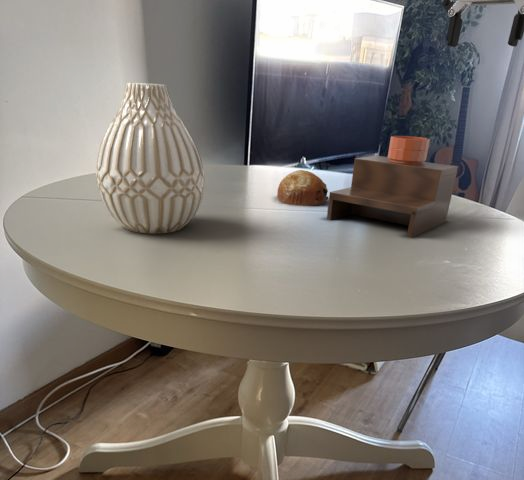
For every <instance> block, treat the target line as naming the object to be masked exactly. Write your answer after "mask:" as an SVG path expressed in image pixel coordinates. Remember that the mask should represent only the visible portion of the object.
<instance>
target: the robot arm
mask: <svg viewBox="0 0 524 480" xmlns="http://www.w3.org/2000/svg"><path fill="white" fill-rule="evenodd" d="M441 3H442V4H441V5H442V7H443V9H444V10H445V11H446V13H447V16H448V17H449V21H448V25H447V31H446V37H445V39H446V41H447V46H448V47H450V48H451V47H452V48H455V47H458V44H459V40H460V35H461V31H462V27H463V26H462V25H463V19H462V15H463V14H464V13H465V12H466V10H467V9H468V8H469V7H470V6H476V7H477V6H497V5H499V6H500V5H513V4H514V5H515V6H516V8H517V10H518V11H517V13H515V15H514V16H513V20H512V24H511V28H510V32H509V35H508V40H507V45H508V46H511V47H517V46H518V43H519V41H521V40H523V38H524V0H456V1H455V2H454V1H453V0H441Z"/></svg>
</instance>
